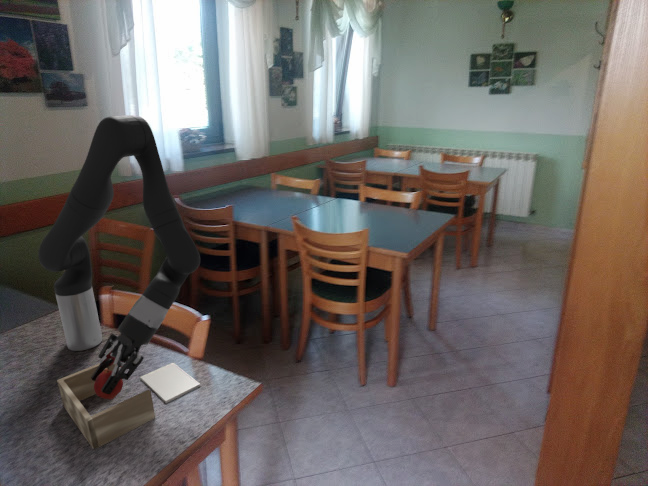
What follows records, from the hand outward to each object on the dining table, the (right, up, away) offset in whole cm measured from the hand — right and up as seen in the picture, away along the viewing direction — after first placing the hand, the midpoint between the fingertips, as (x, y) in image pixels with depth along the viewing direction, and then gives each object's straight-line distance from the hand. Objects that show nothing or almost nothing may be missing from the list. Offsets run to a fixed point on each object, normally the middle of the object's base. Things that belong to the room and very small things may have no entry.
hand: (100, 386), depth 98 cm
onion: (+1, -4, +3) cm, 5 cm away
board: (+11, -3, +13) cm, 17 cm away
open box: (+1, -7, +3) cm, 7 cm away
